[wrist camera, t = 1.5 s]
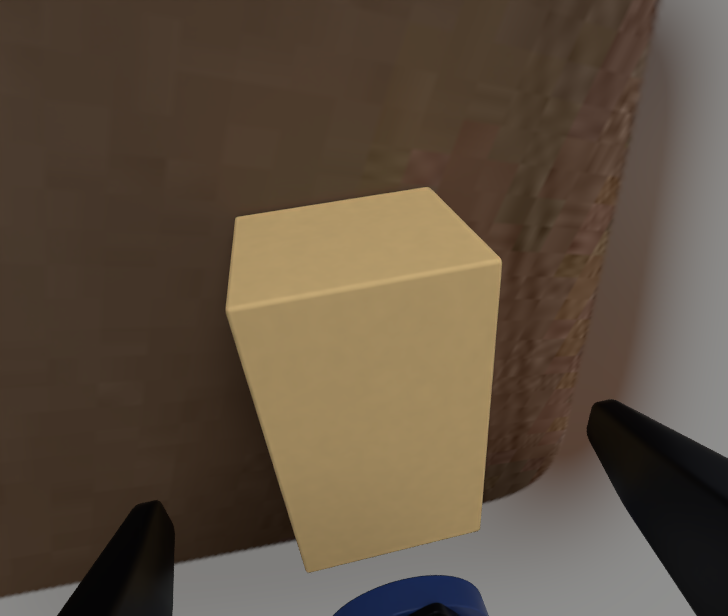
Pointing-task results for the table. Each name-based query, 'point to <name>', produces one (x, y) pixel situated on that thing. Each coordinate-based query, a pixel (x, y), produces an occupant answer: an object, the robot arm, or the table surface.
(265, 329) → the tan block
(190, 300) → the table surface
